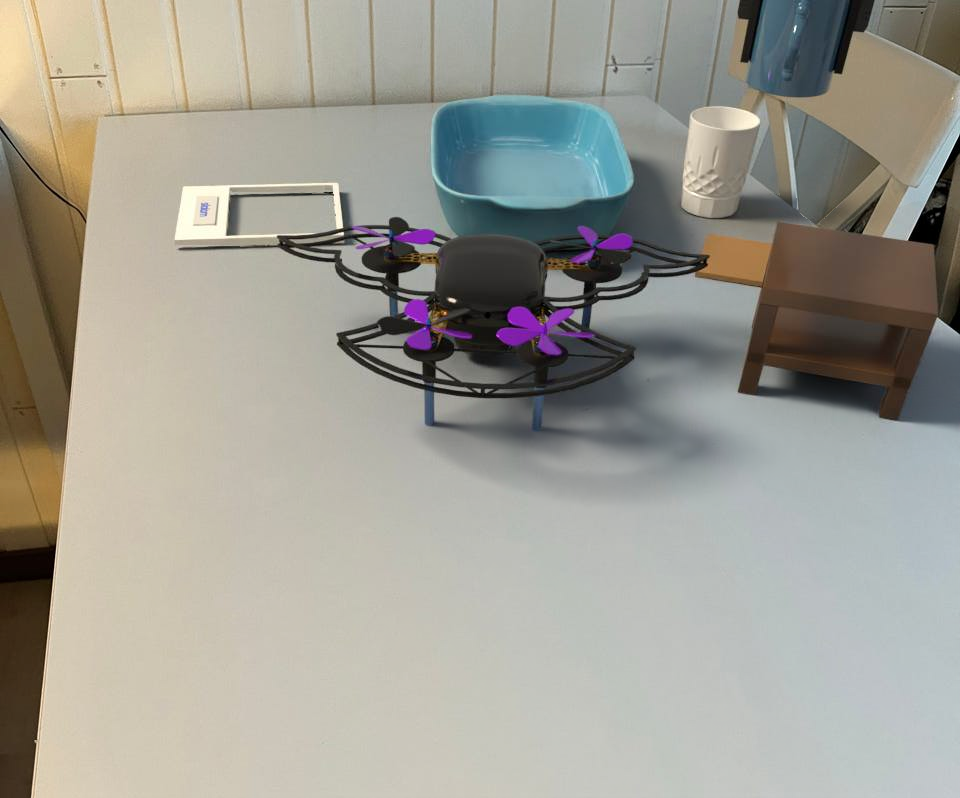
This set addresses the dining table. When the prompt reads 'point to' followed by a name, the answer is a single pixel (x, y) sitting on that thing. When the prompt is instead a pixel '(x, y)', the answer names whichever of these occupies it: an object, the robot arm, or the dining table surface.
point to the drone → (488, 302)
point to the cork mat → (735, 260)
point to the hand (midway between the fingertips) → (791, 63)
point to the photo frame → (209, 213)
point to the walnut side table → (844, 309)
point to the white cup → (717, 159)
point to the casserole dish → (529, 167)
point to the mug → (796, 46)
